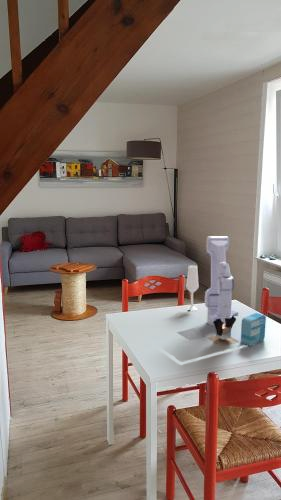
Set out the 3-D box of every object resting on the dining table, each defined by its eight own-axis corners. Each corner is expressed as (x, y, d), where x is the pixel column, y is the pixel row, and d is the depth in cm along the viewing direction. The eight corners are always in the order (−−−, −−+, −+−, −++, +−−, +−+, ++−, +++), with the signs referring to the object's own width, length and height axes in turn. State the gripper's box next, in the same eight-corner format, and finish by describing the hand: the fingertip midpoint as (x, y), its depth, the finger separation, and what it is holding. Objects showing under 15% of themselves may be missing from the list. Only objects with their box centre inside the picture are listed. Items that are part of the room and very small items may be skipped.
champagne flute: (191, 306, 229) (192, 264, 224) (200, 309, 224) (201, 266, 219) (183, 309, 224) (183, 266, 220) (192, 312, 219) (193, 268, 215)
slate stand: (194, 330, 195) (194, 328, 194) (207, 338, 186) (207, 335, 186) (176, 334, 190) (176, 332, 189) (189, 342, 181) (189, 339, 181)
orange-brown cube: (223, 334, 184) (224, 323, 183) (230, 337, 180) (231, 326, 179) (215, 336, 182) (216, 325, 181) (222, 339, 178) (223, 328, 177)
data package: (249, 347, 176) (250, 321, 174) (240, 344, 180) (241, 318, 177) (264, 340, 184) (266, 314, 182) (255, 337, 187) (257, 311, 185)
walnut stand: (224, 336, 188) (224, 333, 188) (239, 344, 180) (239, 341, 179) (207, 340, 183) (207, 337, 183) (221, 348, 175) (221, 346, 175)
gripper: (217, 309, 171) (216, 340, 174) (243, 304, 178) (242, 333, 181) (207, 305, 177) (206, 334, 180) (232, 299, 184) (231, 328, 187)
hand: (223, 333), depth 181 cm, fingers closed on orange-brown cube, 4 cm apart
